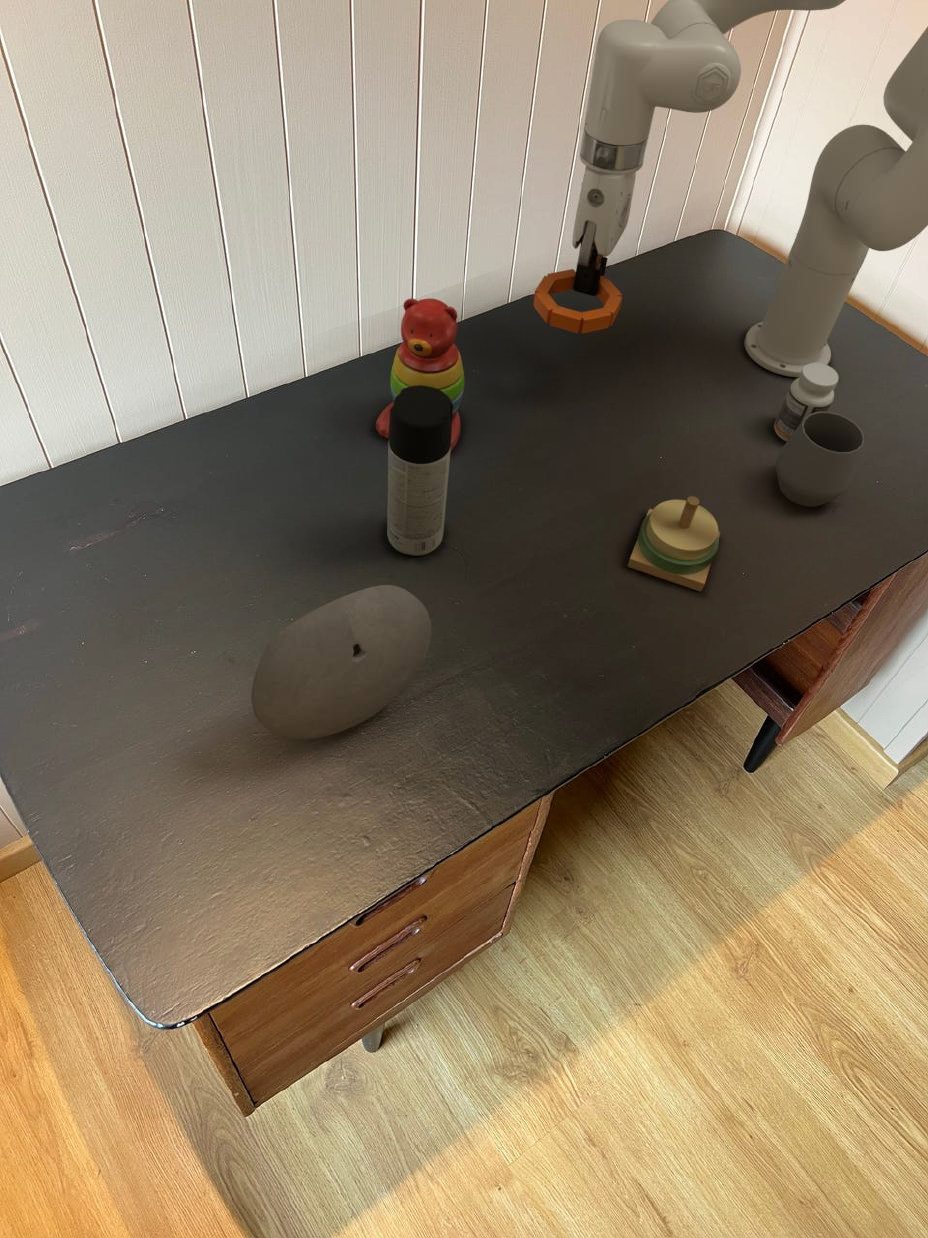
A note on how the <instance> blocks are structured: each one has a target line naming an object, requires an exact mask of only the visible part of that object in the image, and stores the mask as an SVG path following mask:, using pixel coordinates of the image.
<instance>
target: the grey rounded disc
mask: <svg viewBox="0 0 928 1238" xmlns="http://www.w3.org/2000/svg"><path fill="white" fill-rule="evenodd" d="M431 639H432V621H431V618H430V615H429V612H428V610H427V608H426V606H425V605H424V604H423V602H421V600H420V599H419V598H417V596H415V595H414V594H412V593H411V592H410V591H408V590H406V589H405V588H402V587H400V586H397V585H394V584H380V585H374V586H371V587H367V588H363V589H360V590H357V591H355V592H351V593H349V594H346V595H343V596H342V597H339V598H337V599H334V600H333V601H330V602H328V603H325V604H324V605H322V606H320V607H318V608H316V609H314V610H311V611H310V612H308V613H306V614H305V615H302V616H301V617H300V618H298V619H297V620H295V621H293V622H292V623H290V624H289V625H287V626H286V627H284V628H283V629H282V630H280V631H279V632H278V633H276V634H275V635H274V636H273V637H272V638H271V639H270V640H269V642H268V643H267V644H266V646H265V648H264V650H263V652H262V655H261V657H260V658H259V662H258V664H257V667H256V670H255V674H254V677H253V681H252V684H251V685H252V686H251V692H250V693H251V694H250V700H251V707H252V710H253V713H254V716H255V718H256V720H257V721H258V722H259V724H260V725H261V726H262V727H263V728H264V729H266V730H267V731H268V732H270V733H271V734H273V735H276V736H278V737H282V738H285V739H292V740H310V739H319V738H324V737H327V736H331V735H334V734H335V735H336V734H338V733H341V732H344V731H346V730H349V729H351V728H353V727H355V726H357V725H359V724H361V723H363V722H365V721H366V720H368V719H370V718H372V717H373V716H375V715H376V714H377V713H379V712H380V711H382V710H383V709H384V708H386V707H388V705H390V704H391V703H392V702H394V700H396V699H397V698H398V697H399V696H400V695H401V694H402V693H403V692H404V691H405V690H406V689H407V687H408V686H410V684H412V681H413V680H414V679H415V678H416V676H417V675H418V673H419V671H420V670H421V668H422V667H423V665H424V662H425V660H426V658H427V656H428V653H429V650H430V644H431Z"/></svg>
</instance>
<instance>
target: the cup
mask: <svg viewBox="0 0 928 1238" xmlns="http://www.w3.org/2000/svg"><path fill="white" fill-rule="evenodd" d="M865 439H866V438H865V436H864V432H863V430H862V428H860V426H859V425H858V424H857V423H856V422H854V421H853V420H852V419H850V418H849V417H848V416H847V417H846V416H844V415H842V414H839V413H837V412H832V411H828V412H815V413H812V414H809V415H808V416H807V417H806V418H805V419H804V420H803V421H802V422H801V424H800V425H799V426H798V428H797V429H796V430H795V432H794V433H793V434H792V436H791V437H790V438H789V440H788V441H787V442H786V441H785V442H786V443H785V444H784V445H783V446H782V448H781V449H780V451H778V455H777V459H776V462H775V470H776V475H777V481H778V486H779V490H780V492H782V494H783V495H784V496H785V497H786V498H787V499H788V500H789V501H791V502H793V503H794V504H797V505H799V506H803V507H808V508H809V507H810V508H811V507H819V506H821V505H824V504H827V503H828V502H830V501H832V500H834V499H836V498H838V497H839V496H841V495H842V494H843V493H844V492H845V491H847V489H848V488H850V486H851V484H852V482H853V479H854V476H855V473H856V469H857V466H858V463H859V460H860V457H861V454H862V451H863V447H864V444H865Z"/></svg>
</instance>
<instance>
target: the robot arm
mask: <svg viewBox="0 0 928 1238" xmlns="http://www.w3.org/2000/svg"><path fill="white" fill-rule="evenodd" d="M846 1H847V0H668V1H666V3H664V4H663V6H662V7H661V8H660V9H659V11H657V13H656V14H655V16H654V17H653V19H652V20H651V22H647V21H644V20H639V19H619V20H615V21H612V22H610V23H607V24H606V25H605V26H604V28H602V30H601V31H600V33H599V35H598V38H597V42H596V46H595V53H594V60H593V66H592V73H591V79H590V84H589V91H588V99H587V105H586V111H585V116H584V117H585V118H584V123H583V124H584V125H583V131H582V136H581V143H580V148H579V149H580V150H579V160H580V161H581V162H582V164H583V165H584V166H585V169H584V173H583V178H582V182H581V188H580V193H579V196H578V197H579V198H578V203H577V208H576V212H575V218H574V223H573V224H574V226H573V233H572V241H571V242H572V243H571V244H572V246H573V249H575V250H577V249H579V253H578V258H577V263H576V269H575V272H576V274H575V280H574V286H573V289H572V290H573V291H574V292H577V293H580V294H583V295H587V296H590V297H597V296H596V294H597V292H598V287H599V282H600V277H601V276H604V277H605V274H606V269H607V263H608V256H610V255H611V254H612V252H613V251H614V249H615V247H616V246H617V245H618V242H619V241H620V239H621V237H622V235H623V233H624V232H625V230H626V228H627V227H628V226H627V225H628V223H629V218H630V214H631V209H632V208H631V207H632V201H633V195H634V189H635V184H636V177H637V171H639V170H641V169H642V167H643V165H644V161H645V156H646V151H647V146H648V143H649V137H650V133H651V128H652V124H653V120H654V115H655V109H656V107H657V108H662V109H669V110H675V111H680V112H685V113H694V114H697V113H698V114H699V113H700V114H701V113H707V112H711V111H714V110H716V109H718V108H720V107H722V106H724V105H725V104H726V103H727V102H728V101H729V100H730V99H731V98H732V97H733V96H734V94H735V93H736V91H737V89H738V87H739V85H740V84H739V83H740V80H741V75H742V67H741V66H742V65H741V60H740V57H739V54H738V52H737V51H736V49H735V48H734V46H733V44H732V43H731V42H730V40H729V39H728V38H727V37H726V36H725V34H727V33H728V32H729V31H731V30H732V29H734V28H735V27H737V26H739V25H741V24H742V23H744V22H746V21H748V20H750V19H752V18H754V17H757V16H760V15H762V14H767V13H770V12H776V11H807V12H809V11H824V10H831V9H835V8H837V7H839V6H840V5H842V4H843V3H844V2H846ZM883 106H884V109H885V111H886V113H887V115H888V116H889V118H890V119H891V121H892V122H893V123H894V124H895V126H897V127H898V129H899V130H901V132H902V133H903V134H904V135H905V136H906V137H907V138H908V139H909V140H910V141H911V144H910V145H909V146H908V148H907V149H906V150H905V149H904V148H903V147H902V146H901V145H900V144H899V143H898V142H897V140H895V138H894V137H892V135H890V134H888V133H887V131H885V130H883V129H881V128H879V127H877V126H875V125H870V124H856V125H852V126H848V127H847V128H844V129H843V130H841V131H839V132H838V133H837V134H836V135H834V136H833V137H832V138H831V139H830V140H829V141H828V142H827V144H826V145H825V146H824V148H823V149H822V151H821V152H820V154H819V156H818V158H817V161H816V163H815V166H814V169H813V173H812V176H811V181H810V186H809V191H808V197H807V201H806V205H805V209H804V212H803V216H802V218H801V222H800V225H799V227H798V230H797V232H796V236H795V239H794V241H793V244H792V246H791V248H790V251H789V253H788V256H787V259H786V261H785V263H784V266H783V269H782V272H781V274H780V277H779V279H778V281H777V283H776V286H775V289H774V292H773V295H772V297H771V300H770V302H769V305H768V307H767V309H766V312H765V315H764V317H763V321H761V322H757V323H756V324H754V325H752V326H751V327H750V328H749V329H748V330H747V332H746V335H745V338H744V348H745V351H746V352H747V354H748V356H749V357H750V358H751V360H752V361H754V362H755V363H756V364H758V365H759V366H760V367H762V368H764V369H765V370H767V371H769V372H772V373H775V374H777V375H781V376H785V377H790V378H799V375H800V373H801V371H802V369H803V367H804V366H805V365H807V364H810V363H821V364H825V365H827V366H829V364H830V361H831V358H832V351H831V348H830V346H829V344H828V339H829V337H830V335H831V333H832V330H833V329H834V326H835V324H836V322H837V320H838V317H839V316H840V313H841V312H842V309H843V307H844V305H845V302H846V300H847V298H848V296H849V294H850V292H851V289H852V287H853V285H854V283H855V281H856V279H857V276H858V275H859V272H860V270H861V268H862V266H863V264H864V263H865V260H866V258H867V255H868V253H869V250H870V249H871V250H872V251H873V250H874V251H877V252H889V251H894V250H897V249H899V248H901V247H903V246H905V245H906V244H908V243H909V242H911V241H912V240H913V239H915V238H916V237H917V236H919V234H921V233H922V232H923V231H924V230H925V229H926V228H927V227H928V26H927V27H926V28H925V30H924V31H923V32H922V33H921V34H920V36H919V38H917V40H916V42H915V43H914V44H913V46H912V47H911V48H910V49H909V51H908V52H907V54H906V55H905V56H904V58H903V59H902V61H901V62H900V64H899V65H898V66H897V68H896V69H895V71H894V72H893V73H892V75H891V76H890V78H889V80H888V82H887V84H886V86H885V88H884V91H883Z"/></svg>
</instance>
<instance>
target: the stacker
mask: <svg viewBox="0 0 928 1238" xmlns="http://www.w3.org/2000/svg"><path fill="white" fill-rule="evenodd" d="M699 504H700V499H699V498H698V497H696V496H694V495H690V496H688V497H687V498H686V500H685V499H669V500H665V501H663V502H660V503H658V504H657V505H656V506H655V507H654V508H648V510H647V513H646V516H645V518H644V519H643V520H642V523H641V526H640V528H639V531H638V536H637V539H636V542H635V545H634V547H633V549H632V552H631V554H630V558H629V560H628V563H627V567H628V568H630V569H633V570H636V571H638V572H642V573H645V574H647V575H651V576H654V577H656V578H659V579H661V580H666V581H668V582H671V583H674V584H677V585H679V586H682V587H686V588H689V589H692V590H695V591H698V592H700V593H701V592H702V591H703V589H704V587H705V585H706V581H707V578H708V574H709V572H710V568H711V565H712V562H713V560H714V559H715V556H716V554H717V551H718V549H719V545H720V539H719V538H720V535H721V531H719V525H718V523H717V521H716V519H715V517H714V515H713V514H712V513H711V512H710V511H709V510H708V509H706V508H705V507H703V506H701V505H699Z"/></svg>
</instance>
